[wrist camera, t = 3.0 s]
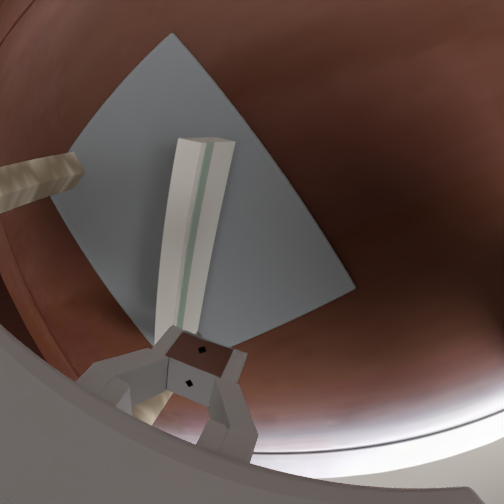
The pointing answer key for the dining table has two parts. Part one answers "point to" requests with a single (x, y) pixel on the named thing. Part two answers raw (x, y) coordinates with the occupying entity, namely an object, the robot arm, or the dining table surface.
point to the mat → (231, 215)
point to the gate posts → (46, 184)
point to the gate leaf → (190, 230)
